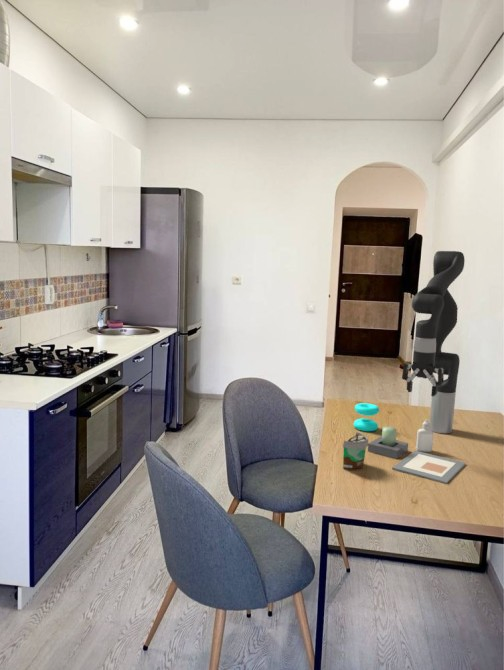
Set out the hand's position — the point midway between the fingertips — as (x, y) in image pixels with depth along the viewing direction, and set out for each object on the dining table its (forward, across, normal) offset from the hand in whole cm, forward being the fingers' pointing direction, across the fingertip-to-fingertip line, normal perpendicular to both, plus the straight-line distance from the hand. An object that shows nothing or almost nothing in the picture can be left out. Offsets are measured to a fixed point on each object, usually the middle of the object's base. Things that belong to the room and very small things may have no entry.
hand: (421, 393), depth 190 cm
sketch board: (+22, -8, +11) cm, 26 cm away
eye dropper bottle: (+23, -1, -4) cm, 23 cm away
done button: (+20, +9, +6) cm, 22 cm away
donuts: (+23, +27, -14) cm, 38 cm away
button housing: (+22, +9, +6) cm, 25 cm away
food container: (+22, +11, +28) cm, 37 cm away
